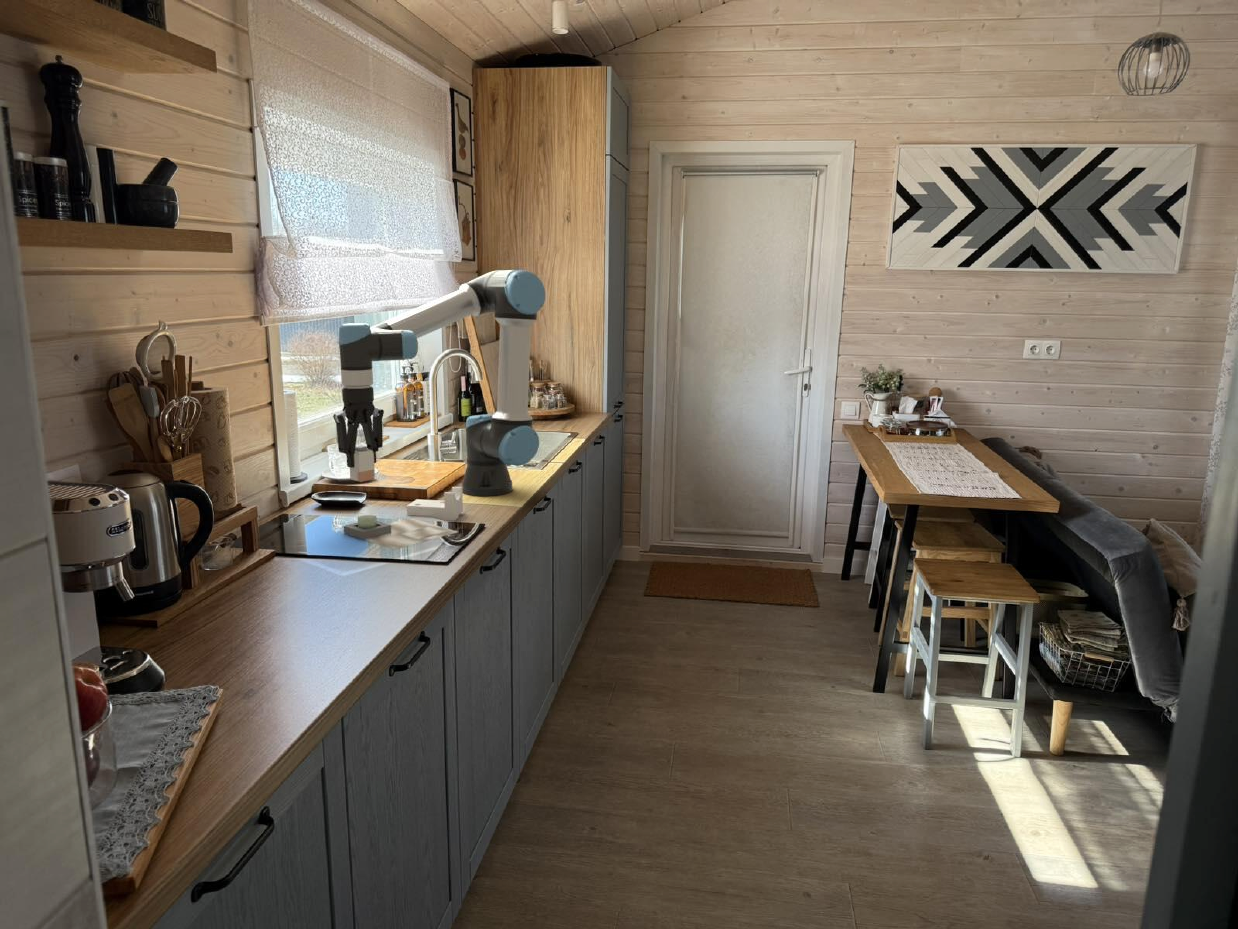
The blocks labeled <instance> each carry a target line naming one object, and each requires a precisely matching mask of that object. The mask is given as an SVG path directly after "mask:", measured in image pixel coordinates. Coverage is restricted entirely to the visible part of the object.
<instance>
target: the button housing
mask: <svg viewBox="0 0 1238 929" xmlns="http://www.w3.org/2000/svg"><path fill="white" fill-rule="evenodd" d="M389 533H391V525H389V523H385V522H382V521H378V520H377V527H373V528H369V529H362V528H358V522H353V523H350V524H346V525H343V534H344V535H346V536H350V537H353V538H356V539H359V540H364V541H367V540H366V539H370V538H374V537H377V536H381V535H385V534H389Z"/></svg>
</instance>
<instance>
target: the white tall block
mask: <svg viewBox="0 0 1238 929" xmlns="http://www.w3.org/2000/svg"><path fill="white" fill-rule="evenodd" d="M355 454H356V455H358V470H359V480H357V481H356V480H354V481H355V482H360V483H362V482H367V481H371V480H375V477H374V468H375V467H374V468H373V450H369V449H367V445H366V446H365V445H360V446H359V445H358V446H356V447H355Z"/></svg>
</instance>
